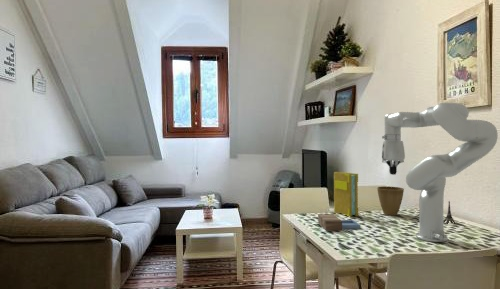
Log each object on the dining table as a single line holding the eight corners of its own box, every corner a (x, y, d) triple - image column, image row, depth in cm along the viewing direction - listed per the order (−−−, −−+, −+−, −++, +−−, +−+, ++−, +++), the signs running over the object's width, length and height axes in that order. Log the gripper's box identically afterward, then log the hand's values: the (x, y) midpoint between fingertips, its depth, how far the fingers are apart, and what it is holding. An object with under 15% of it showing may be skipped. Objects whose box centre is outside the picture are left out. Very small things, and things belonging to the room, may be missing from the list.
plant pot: (372, 213, 206) (371, 187, 206) (391, 211, 211) (390, 185, 211) (390, 217, 192) (389, 190, 192) (409, 215, 197) (409, 188, 197)
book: (358, 216, 197) (358, 173, 197) (349, 217, 195) (348, 174, 195) (340, 211, 213) (340, 171, 213) (331, 211, 211) (331, 172, 211)
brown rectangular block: (342, 230, 165) (342, 220, 165) (325, 230, 164) (325, 221, 164) (333, 222, 181) (333, 214, 181) (318, 223, 181) (318, 214, 181)
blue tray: (360, 228, 167) (360, 224, 167) (328, 229, 167) (328, 225, 167) (353, 223, 178) (353, 220, 178) (323, 224, 178) (323, 220, 178)
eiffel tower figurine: (469, 225, 175) (469, 200, 175) (462, 228, 169) (461, 202, 169) (439, 220, 187) (439, 196, 187) (431, 223, 181) (430, 198, 181)
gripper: (381, 138, 166) (381, 175, 166) (411, 137, 166) (411, 174, 166) (375, 138, 173) (375, 173, 173) (403, 138, 173) (403, 173, 173)
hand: (393, 174), depth 169 cm, fingers closed
